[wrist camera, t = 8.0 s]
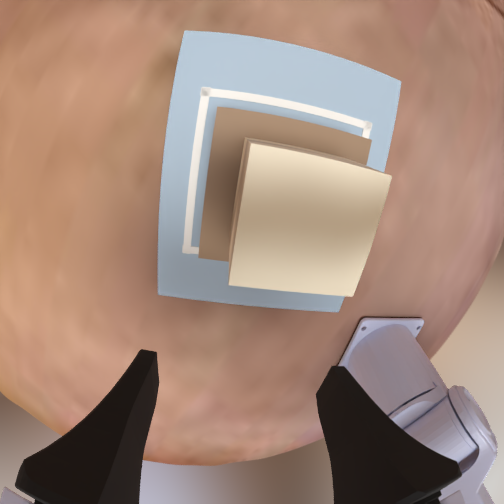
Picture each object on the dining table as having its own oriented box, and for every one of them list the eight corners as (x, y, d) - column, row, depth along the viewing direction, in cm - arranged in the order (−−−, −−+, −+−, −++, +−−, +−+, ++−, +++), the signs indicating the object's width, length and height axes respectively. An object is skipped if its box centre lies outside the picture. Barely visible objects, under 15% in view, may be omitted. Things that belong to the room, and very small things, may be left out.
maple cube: (320, 245, 15) (352, 296, 11) (229, 233, 15) (228, 285, 10) (342, 156, 13) (392, 176, 9) (245, 137, 12) (251, 143, 8)
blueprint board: (334, 305, 22) (338, 313, 21) (160, 287, 20) (157, 295, 19) (393, 82, 15) (402, 81, 14) (187, 35, 13) (184, 30, 12)
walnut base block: (321, 251, 19) (335, 273, 16) (203, 236, 18) (198, 257, 15) (350, 136, 15) (372, 139, 13) (220, 110, 14) (217, 106, 12)
